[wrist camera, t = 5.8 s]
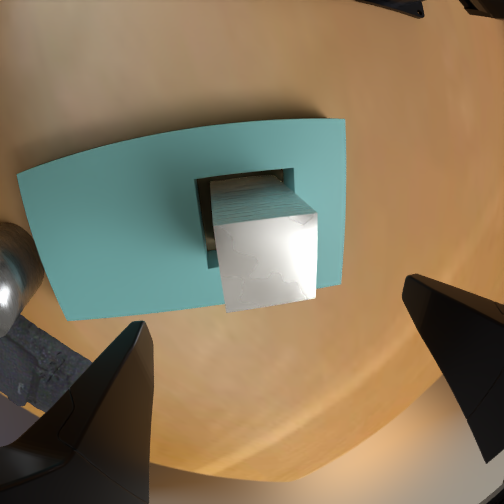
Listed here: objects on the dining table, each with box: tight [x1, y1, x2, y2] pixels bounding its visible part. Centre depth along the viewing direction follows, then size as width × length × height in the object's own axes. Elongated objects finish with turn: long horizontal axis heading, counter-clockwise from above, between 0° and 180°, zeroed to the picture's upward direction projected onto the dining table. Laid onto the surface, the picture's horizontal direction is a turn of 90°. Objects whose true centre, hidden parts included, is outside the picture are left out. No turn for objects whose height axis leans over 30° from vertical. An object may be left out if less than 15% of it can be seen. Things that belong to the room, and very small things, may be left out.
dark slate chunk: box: [0, 315, 92, 412], centre depth 21 cm, size 15×22×5 cm
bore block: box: [17, 118, 346, 321], centre depth 17 cm, size 20×11×2 cm, turn 95°
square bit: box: [210, 174, 317, 313], centre depth 15 cm, size 4×4×8 cm
